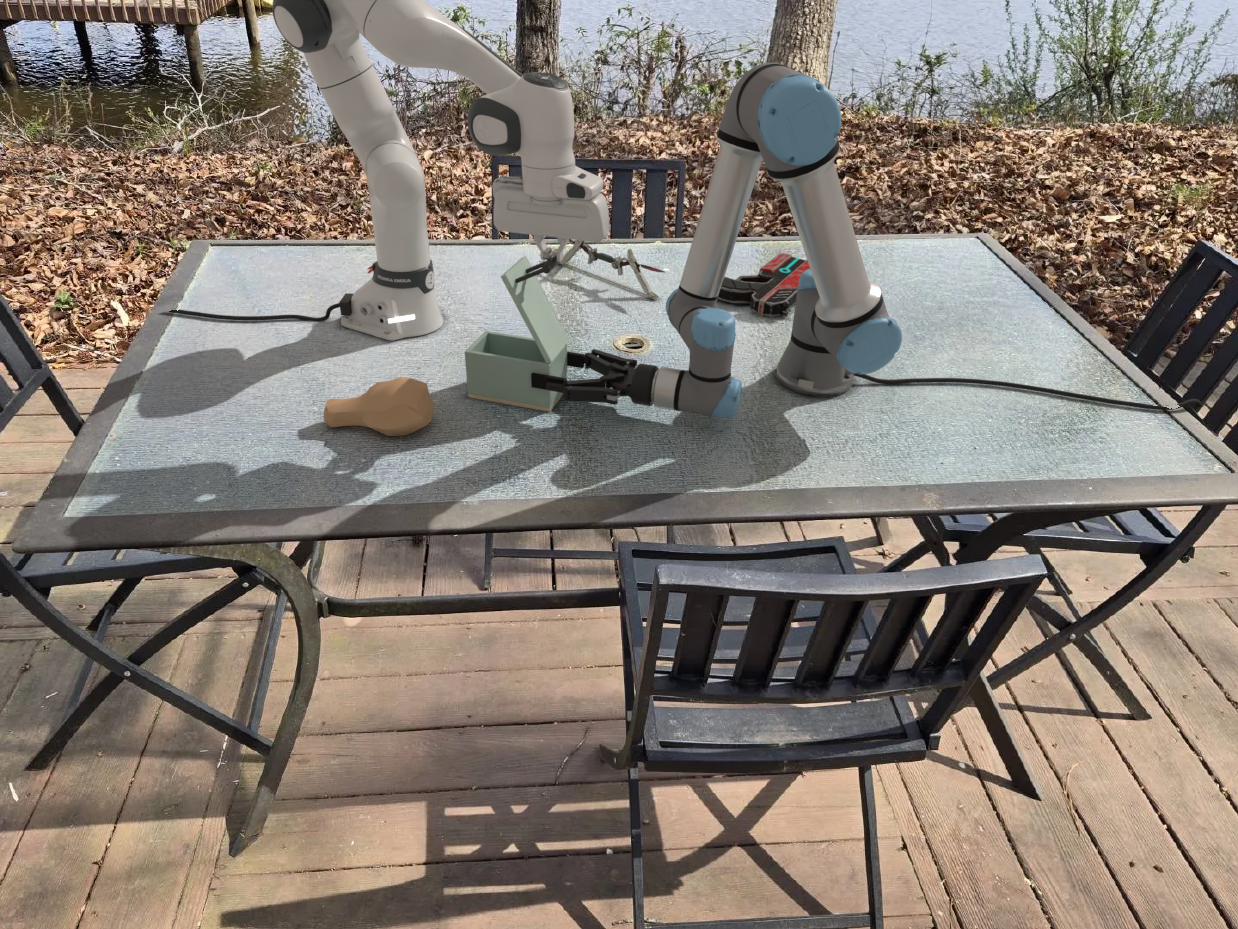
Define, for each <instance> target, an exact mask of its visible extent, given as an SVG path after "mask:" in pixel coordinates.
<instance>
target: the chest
mask: <svg viewBox="0 0 1238 929" xmlns="http://www.w3.org/2000/svg"><path fill="white" fill-rule="evenodd" d="M567 351H568V343H567V344H566V345H565V346H564V347H563V348H562V350H561V351H560V352H559V353H558V355H557V356H556V357H555V358H554V360H553V361H552V362H550V363H546V361H545V359H544V357H543V355H542V353H541V352H540V350H539V348H538V346H537V344H536V342H535V340H534V338H533V337H527V336H521V335H514V334H509V333H504V332H503V333H502V332H496V331H490V330H485V331H484V332H483V333H482V334H481V335H480V336H479V337H478V338H477V339H476V340H474V342H472V344H470V346H468V347H467V348H466V349H465V351H464V363H465V374H466V386H467V398H469V399H470V398H471V399H477V400H483V401H487V402H493V403H500V404H503V405H510V406H516V407H521V408H526V409H533V410H537V411H544V412H549V413H551V412H552V411H553V409H554V408H555V406H556V405H557V404H558V402H559V401H560V400H561V398H562V397H563V396H564V394H563V393H561V392H555V391H549V390H545V389H539V388H533V387H531V374H532V373H538V374H544V375H550V376H556V377H562V378H567V379H568V366H567Z"/></svg>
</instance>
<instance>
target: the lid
mask: <svg viewBox="0 0 1238 929" xmlns="http://www.w3.org/2000/svg"><path fill="white" fill-rule="evenodd" d="M559 263H560V262H557V261H552V259H550V260H544V261H543V262H540V263H538V264H535V265H531V263H530V261H529V259H528V257H527V255H525V256H523V257H520V259H518V261H516V262H515V263H514V264H513V265H512V266H511V267H510V268H508V269H507V270H506V271H504V273H503V274H502V275H501V276H500V278H501V280H502V282H503V284H504V286H505V288H506V290H507V291H508V293H509V295H510V297H511V299H512V301H513V303H514V305H515V306H516V308H517V310H518V312H519V315H520V316H521V317H522V320H523V322H524V323H525V325H526V328H527V330H528V331H529V333H530V334H531V336H532V337H531V338H534V340H535V342H536V344H537V346H538V348H539V350H540V352H541V353H542V355H543V357H544V359H545V361H546V363H550V362H552V361H553V360H554V358H555V357H556V356H557V355H558V353H559V352H560V351H561V350H562V348H563V347H564V346H565V345H566V344H567V345H568V342H569V341H570V339H569V336H568V335H567V332H566V331H565V329H564V327H563V325H562V323H561V321H560V319H559V318H558V315H557V313H556V311H555V309H554V307H553V305H552V303H551V302H550V300H549V298H548V296H547V293H546V292H545V290H544V288H543V286H542V284H541V282H540V280H539V278H538V277H537V276H539V275H541V274H543V273H544V274H545V275H547V274H549V273H551V272H552V271H553V270H554V269H555V268H556V267H557V266H558V265H559Z"/></svg>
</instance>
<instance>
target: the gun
mask: <svg viewBox="0 0 1238 929" xmlns="http://www.w3.org/2000/svg"><path fill="white" fill-rule="evenodd" d="M808 269H810V266H809V263H808V260H807V259H802V258H799V257H795V256H793V255H792V254H791V253H784V252H780V253H778V254H777V255H775V256H774V257H773V258H771V259H770V260H768V261H767V262H766V263H765V264H763V265H762V266H761V267H760V269H759V271H758V273H757V274H756V275H753V274H752V275H751V274H750V275H740V276H738V277H737V278H735V279H734V278H731V277H727V276H724V279H723V282H722V285H721V288H720V292H719V295H718V299H717V300H719V301H723V302H727V303H730V304H750V305H749V308H750V310H751V312H753V313H755V314H757V315H758V316H760V317H761V316H765V317H770V318H771V317H777V316H780V317H784V318H787V317H788V315H789V311H788V310H790V309H791V308H792V307H793V306H795V304H796V297H797V290H798V289H797V287H798V284H799V280H800V276H801V274H802V273H803V272H804V271H806V270H808Z"/></svg>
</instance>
